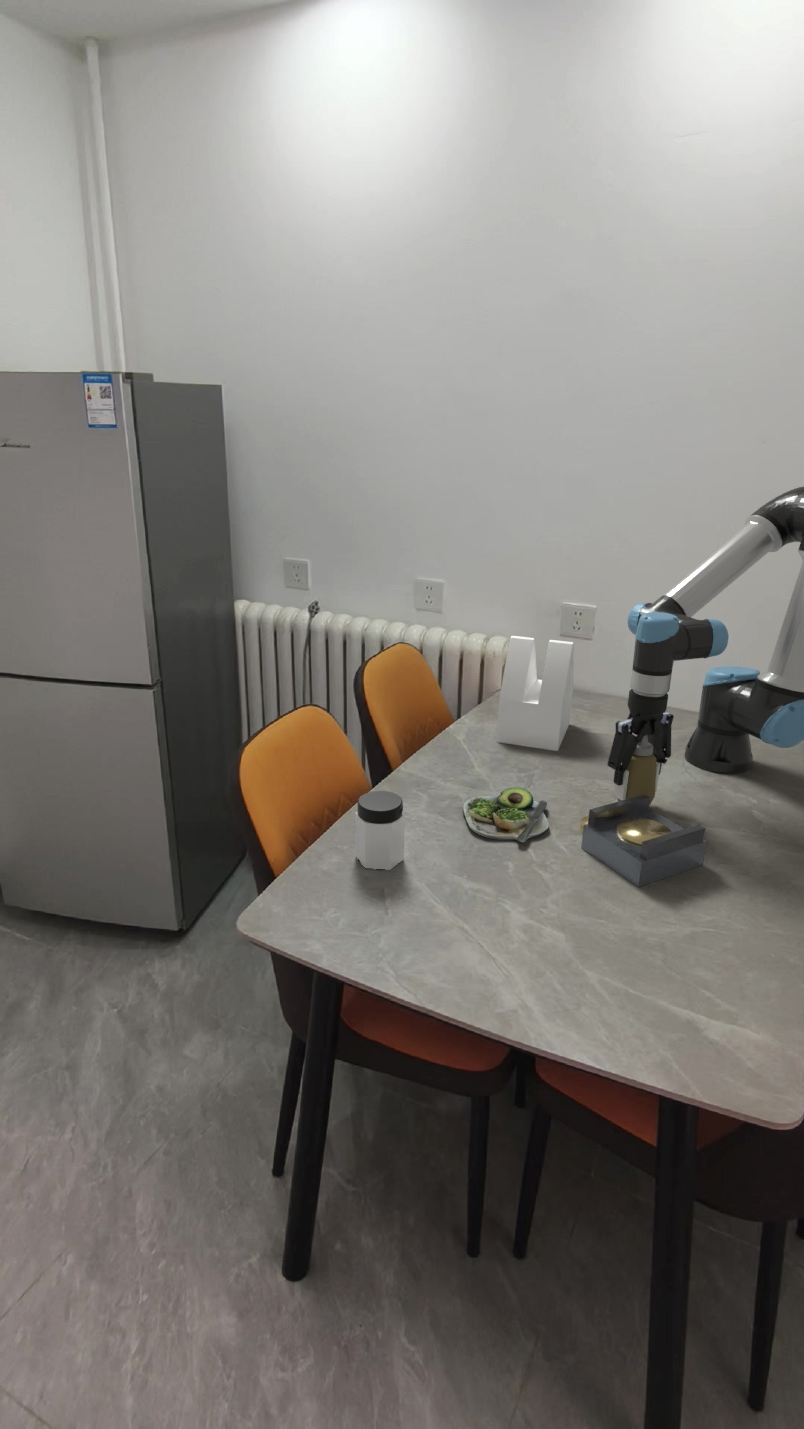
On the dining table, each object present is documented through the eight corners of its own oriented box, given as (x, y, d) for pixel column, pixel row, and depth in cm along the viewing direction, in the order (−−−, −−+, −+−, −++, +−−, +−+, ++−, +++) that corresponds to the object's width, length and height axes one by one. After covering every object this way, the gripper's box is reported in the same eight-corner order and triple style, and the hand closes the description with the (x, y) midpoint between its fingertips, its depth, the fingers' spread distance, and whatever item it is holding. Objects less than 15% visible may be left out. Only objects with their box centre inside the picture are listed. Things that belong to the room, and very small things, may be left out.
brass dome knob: (596, 821, 162) (597, 813, 161) (616, 835, 157) (618, 826, 156) (573, 828, 159) (574, 819, 158) (593, 842, 154) (594, 833, 153)
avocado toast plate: (563, 849, 151) (565, 828, 150) (470, 850, 150) (471, 828, 149) (542, 802, 169) (544, 783, 168) (459, 802, 169) (460, 783, 167)
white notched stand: (557, 751, 195) (567, 653, 186) (496, 742, 199) (502, 646, 191) (569, 724, 212) (578, 633, 203) (512, 716, 216) (518, 627, 208)
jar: (410, 865, 144) (411, 806, 140) (369, 875, 141) (369, 815, 136) (389, 842, 152) (390, 786, 147) (350, 851, 148) (349, 794, 144)
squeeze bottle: (654, 818, 163) (666, 737, 156) (614, 814, 164) (624, 733, 158) (651, 801, 170) (662, 722, 164) (612, 796, 172) (622, 719, 165)
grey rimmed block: (643, 829, 158) (648, 793, 156) (702, 865, 146) (709, 826, 143) (581, 847, 151) (585, 810, 148) (638, 887, 139) (643, 847, 136)
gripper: (672, 678, 166) (658, 777, 174) (596, 692, 156) (584, 796, 164) (700, 689, 160) (684, 790, 168) (623, 704, 150) (609, 811, 158)
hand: (635, 793), depth 166 cm, fingers closed on squeeze bottle, 8 cm apart
